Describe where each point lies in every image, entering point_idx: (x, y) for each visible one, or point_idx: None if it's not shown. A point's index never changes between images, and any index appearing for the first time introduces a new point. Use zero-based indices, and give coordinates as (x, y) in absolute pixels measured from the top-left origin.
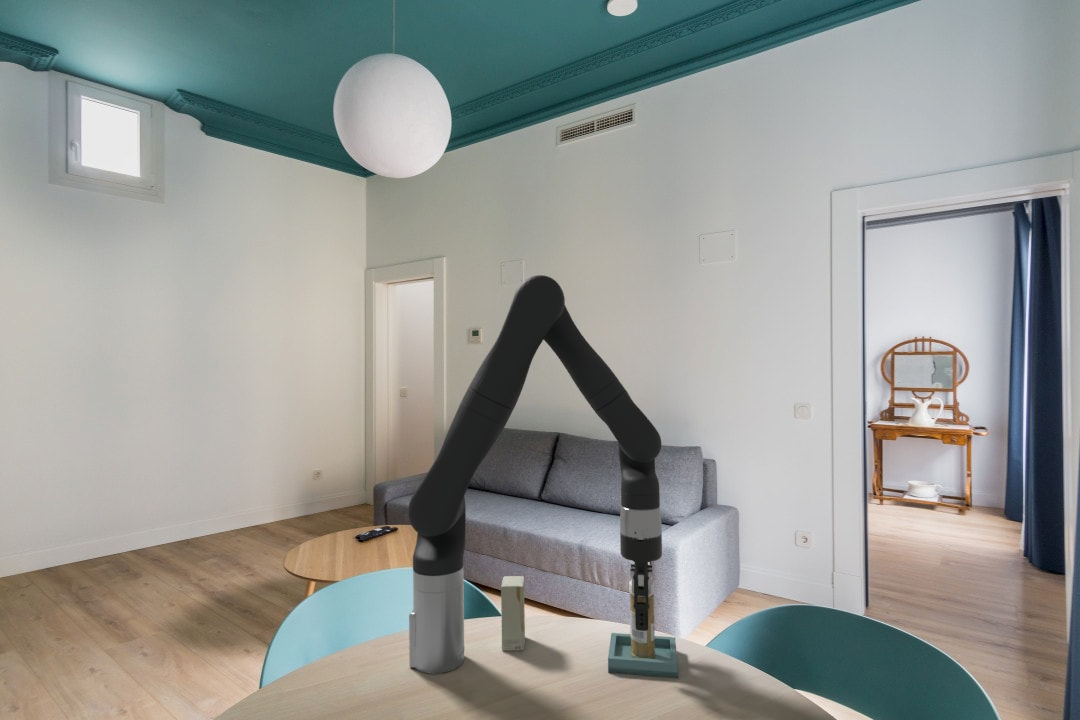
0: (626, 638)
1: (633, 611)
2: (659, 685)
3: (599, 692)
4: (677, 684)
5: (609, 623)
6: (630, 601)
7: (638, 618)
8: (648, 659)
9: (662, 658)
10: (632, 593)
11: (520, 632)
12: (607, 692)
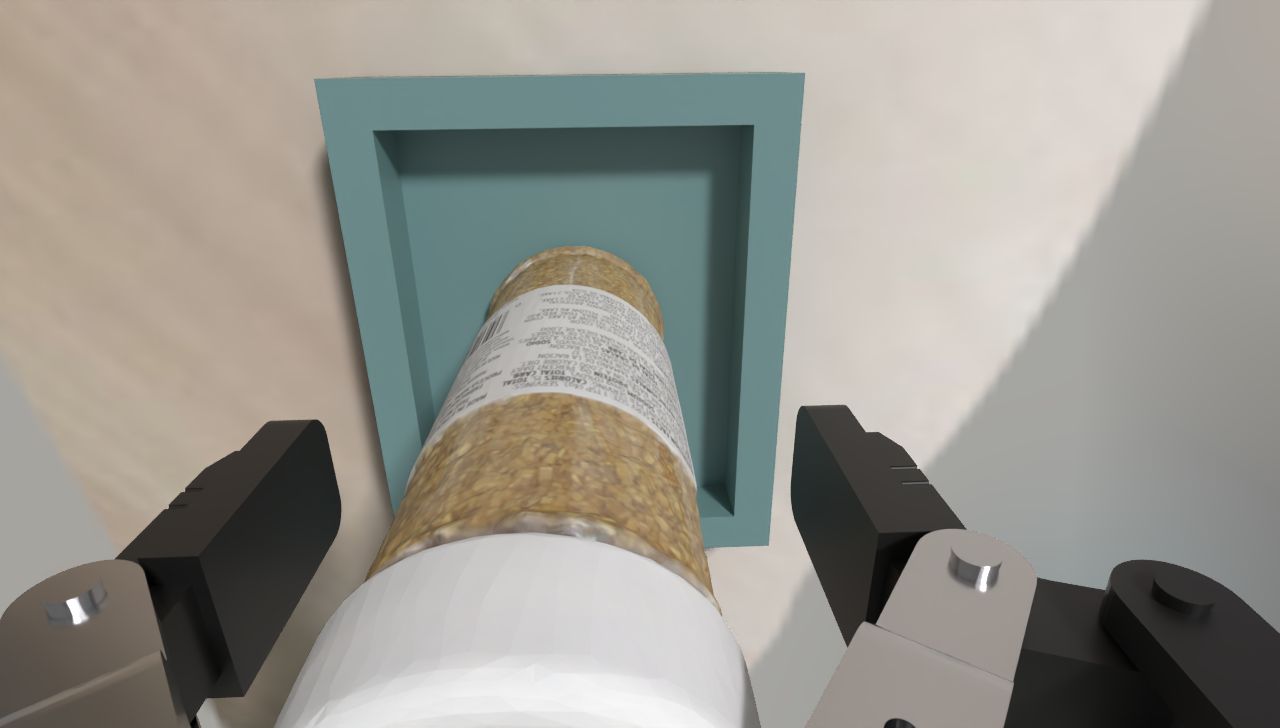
0: (745, 211)
1: (442, 441)
2: (314, 413)
3: (61, 32)
4: (360, 501)
5: (1190, 19)
6: (497, 456)
7: (159, 527)
8: (400, 392)
9: None
10: (51, 696)
11: None
12: (89, 94)
